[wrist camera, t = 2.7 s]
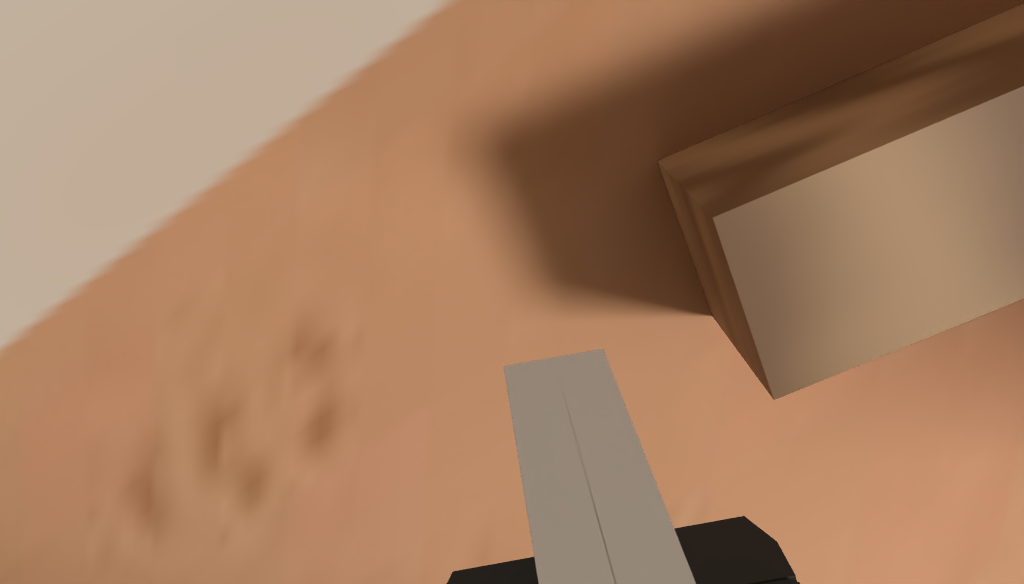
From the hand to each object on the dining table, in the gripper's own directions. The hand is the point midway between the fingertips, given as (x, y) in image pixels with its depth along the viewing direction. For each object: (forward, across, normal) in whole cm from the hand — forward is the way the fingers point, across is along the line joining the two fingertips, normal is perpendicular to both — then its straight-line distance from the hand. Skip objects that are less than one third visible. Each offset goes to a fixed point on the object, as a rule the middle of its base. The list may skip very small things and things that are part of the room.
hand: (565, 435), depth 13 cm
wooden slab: (+11, +12, 0) cm, 16 cm away
